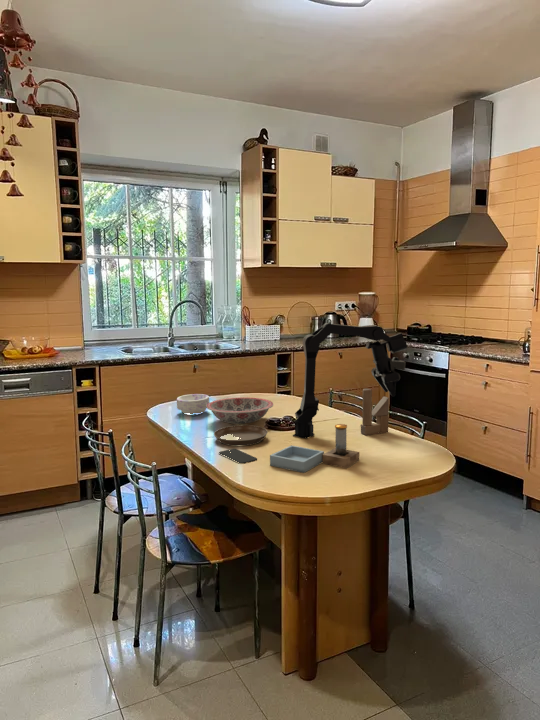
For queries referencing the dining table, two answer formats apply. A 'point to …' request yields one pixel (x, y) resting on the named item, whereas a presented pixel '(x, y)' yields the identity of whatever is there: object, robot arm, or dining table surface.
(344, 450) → the pin
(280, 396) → the dining table surface
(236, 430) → the plant saucer
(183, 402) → the white purple bowl
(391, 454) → the dining table surface
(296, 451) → the tray
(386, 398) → the wooden bracket stand
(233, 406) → the ceramic bowl
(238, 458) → the phone
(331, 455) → the brown square socket base
